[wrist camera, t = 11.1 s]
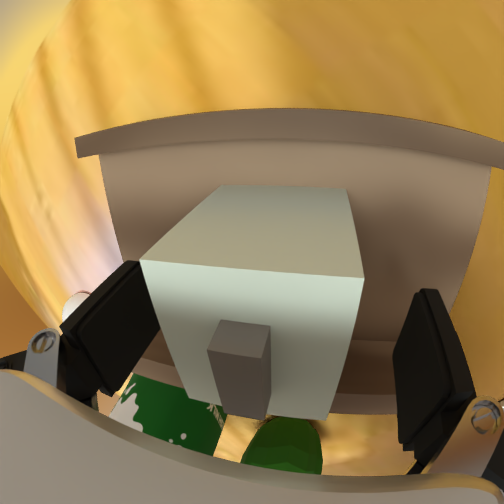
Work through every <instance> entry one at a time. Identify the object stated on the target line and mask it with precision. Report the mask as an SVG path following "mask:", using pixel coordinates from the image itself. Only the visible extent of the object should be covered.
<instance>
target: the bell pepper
mask: <svg viewBox="0 0 504 504" xmlns="http://www.w3.org/2000/svg"><path fill="white" fill-rule="evenodd" d="M240 463H242V464H247V465H252V466H257V467H262V468H268V469H274V470H281V471H288V472H296V473H305V474H316V475H321V472H322V464H323V458H322V449H321V443H320V438H319V434H318V433H317V431H316V430H315V429H313V427H312V425H311V424H310V423H309V422H308V421H307V420H304V419H300V418H292V417H284V416H281V417H278V418H274V419H272V420H271V421H270V422H267V423H265V424H264V425H263V426H262V427H261V428H260V429H258V431H257V432H256V434H255V436H254V437H253V439H252V440H251V442H250V444H249V445H248V447H247V449H246V451H245V452H244V454H243V456H242V459H241V462H240Z"/></svg>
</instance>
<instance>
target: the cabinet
mask: <svg viewBox="0 0 504 504" xmlns="http://www.w3.org/2000/svg"><path fill="white" fill-rule="evenodd" d="M139 260H140V264H141V267H142V271H143V274H144V278H145V281H146V284H147V288H148V291H149V294H150V297H151V300H152V303H153V306H154V309H155V312H156V315H157V318H158V321H159V324H160V327H161V330H162V332H163V335H164V338H165V341H166V343H167V346H168V349H169V351H170V354H171V356H172V359H173V361H174V364H175V366H176V369H177V371H178V374H179V376H180V378H181V381H182V383H183V385H184V388H185V390H186V392H187V395H188V397H189V398H191V399H195V400H199V401H203V402H207V403H211V404H216V405H220V406H222V407H223V411H224V413H226V414H231V415H235V416H241V417H246V418H251V419H257V420H263V421H265V417H266V414H269V415H277V416H284V417H292V418H302V419H313V420H326V419H327V416H328V413H329V411H330V408H331V405H332V402H333V399H334V396H335V393H336V390H337V386H338V383H339V380H340V377H341V373H342V370H343V366H344V363H345V359H346V356H347V352H348V348H349V345H350V341H351V337H352V333H353V329H354V325H355V321H356V316H357V312H358V307H359V303H360V298H361V293H362V288H363V283H364V273H363V267H362V261H361V256H360V250H359V245H358V240H357V235H356V230H355V226H354V221H353V216H352V212H351V208H350V203H349V199H348V195H347V191H346V189H339V188H322V187H302V186H271V185H221V186H220V187H218V188H217V189H216V190H215V191H214V192H213V193H211V194H210V195H209V196H208V197H207V198H206V199H204V200H203V201H202V202H201V203H200V204H199V205H198V206H196V207H195V208H194V209H193V210H192V211H191V212H190V213H188V214H187V215H186V216H185V217H184V218H183V219H182V220H181V221H180V222H178V223H177V224H176V225H175V226H174V227H173V228H172V229H171V230H170V231H169V232H167V233H166V234H165V235H164V236H163V237H162V238H161V239H160V240H159V241H158V242H157V243H156V244H155V245H154V246H153V247H151V248H150V249H149V250H148V251H147V252H146V253H145V254H144V255H143V256H142V257H141V258H140V259H139Z"/></svg>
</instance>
